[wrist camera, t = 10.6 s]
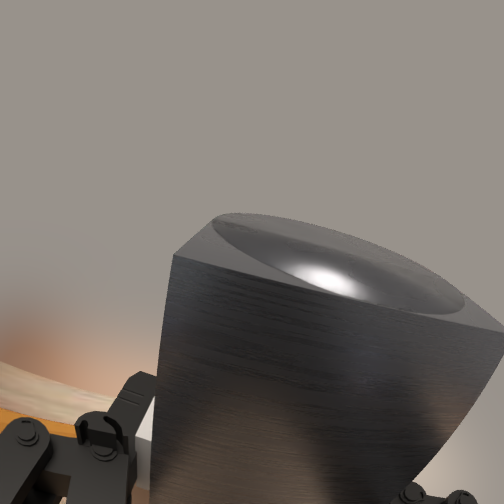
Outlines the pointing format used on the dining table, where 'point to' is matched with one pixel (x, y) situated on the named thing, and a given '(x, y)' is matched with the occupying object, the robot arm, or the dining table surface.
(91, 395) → the dining table surface
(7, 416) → the carrot
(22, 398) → the dining table surface
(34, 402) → the dining table surface
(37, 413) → the dining table surface
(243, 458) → the d peg
